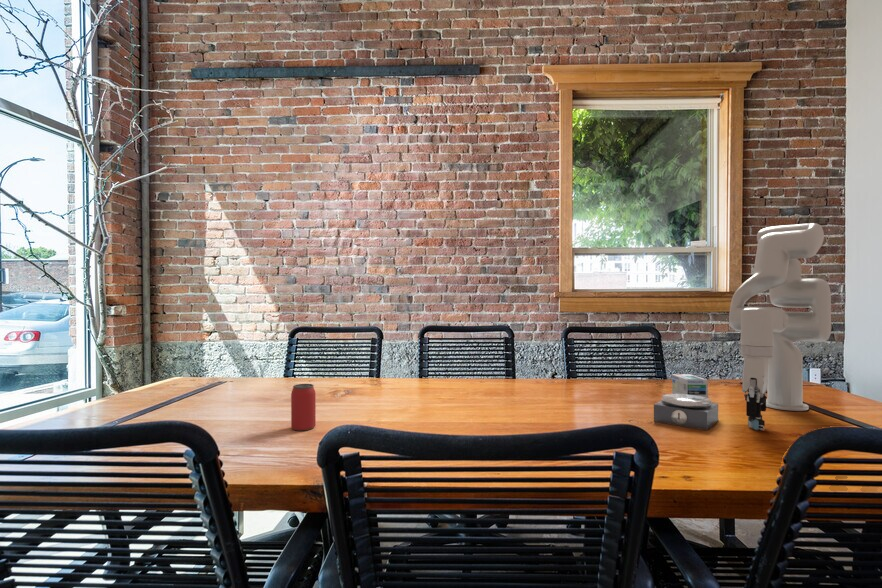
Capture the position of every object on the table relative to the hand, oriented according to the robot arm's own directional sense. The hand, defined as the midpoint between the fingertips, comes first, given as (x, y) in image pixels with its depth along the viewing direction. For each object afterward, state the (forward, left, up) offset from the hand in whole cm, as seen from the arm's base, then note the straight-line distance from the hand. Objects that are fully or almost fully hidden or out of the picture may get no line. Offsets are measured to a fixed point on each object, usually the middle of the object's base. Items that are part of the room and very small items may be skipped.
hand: (756, 413), depth 131 cm
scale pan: (+4, -17, +1) cm, 17 cm away
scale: (+4, -17, -4) cm, 18 cm away
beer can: (+83, -96, -5) cm, 127 cm away
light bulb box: (-12, -20, -5) cm, 24 cm away
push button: (0, 0, -5) cm, 5 cm away
